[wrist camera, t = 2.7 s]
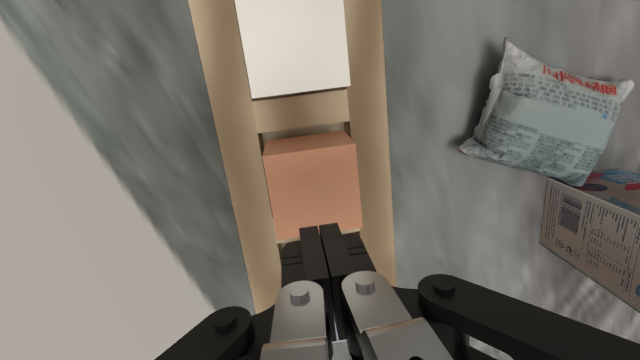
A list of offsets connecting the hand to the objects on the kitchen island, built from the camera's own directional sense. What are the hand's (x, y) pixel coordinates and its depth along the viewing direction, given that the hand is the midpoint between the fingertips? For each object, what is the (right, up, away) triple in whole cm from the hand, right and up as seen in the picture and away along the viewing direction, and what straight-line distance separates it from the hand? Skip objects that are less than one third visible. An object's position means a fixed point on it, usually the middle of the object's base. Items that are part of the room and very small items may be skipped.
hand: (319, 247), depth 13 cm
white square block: (-2, +11, +7) cm, 13 cm away
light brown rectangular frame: (-1, +5, +14) cm, 15 cm away
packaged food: (+17, +8, +15) cm, 25 cm away
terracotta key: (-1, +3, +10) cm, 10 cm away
